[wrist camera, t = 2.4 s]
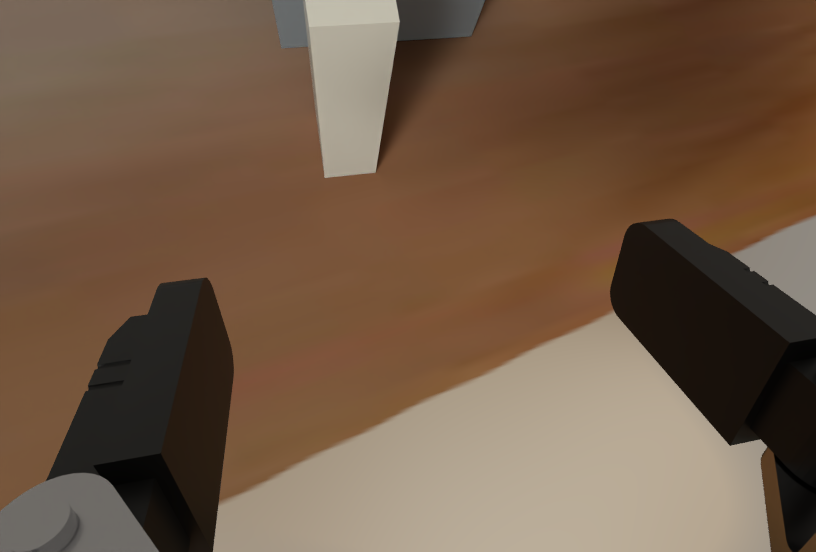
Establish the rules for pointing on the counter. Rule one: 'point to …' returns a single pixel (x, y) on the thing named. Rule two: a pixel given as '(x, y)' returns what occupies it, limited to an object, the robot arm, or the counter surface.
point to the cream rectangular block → (350, 78)
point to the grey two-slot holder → (418, 14)
